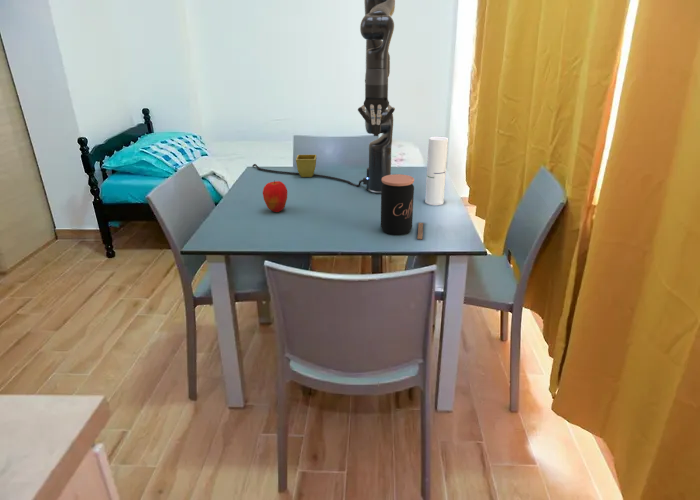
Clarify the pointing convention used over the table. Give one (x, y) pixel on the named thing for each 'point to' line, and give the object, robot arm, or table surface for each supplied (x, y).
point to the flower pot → (306, 165)
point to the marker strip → (420, 231)
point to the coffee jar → (397, 204)
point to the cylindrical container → (436, 170)
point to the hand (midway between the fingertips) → (376, 135)
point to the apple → (275, 195)
